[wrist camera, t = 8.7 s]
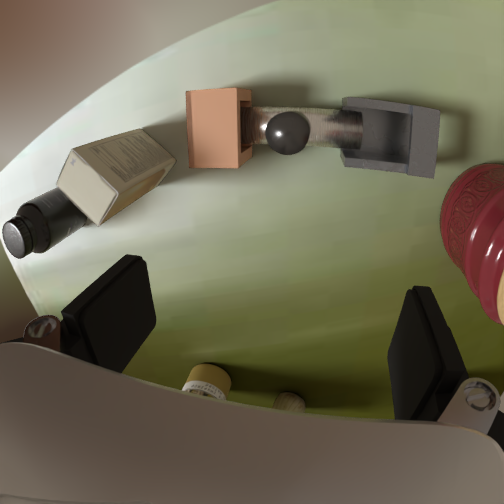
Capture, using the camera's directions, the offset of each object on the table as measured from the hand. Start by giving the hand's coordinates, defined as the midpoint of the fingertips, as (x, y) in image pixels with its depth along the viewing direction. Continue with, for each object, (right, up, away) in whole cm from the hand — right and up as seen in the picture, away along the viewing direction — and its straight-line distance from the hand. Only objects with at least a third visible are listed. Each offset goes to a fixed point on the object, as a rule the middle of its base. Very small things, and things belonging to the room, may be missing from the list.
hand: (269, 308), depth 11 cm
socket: (-3, +15, +20) cm, 25 cm away
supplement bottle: (-26, +8, +29) cm, 40 cm away
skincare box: (-12, +13, +24) cm, 29 cm away
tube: (+4, +14, +19) cm, 24 cm away
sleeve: (+12, +14, +17) cm, 25 cm away
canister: (+26, +6, +18) cm, 32 cm away
